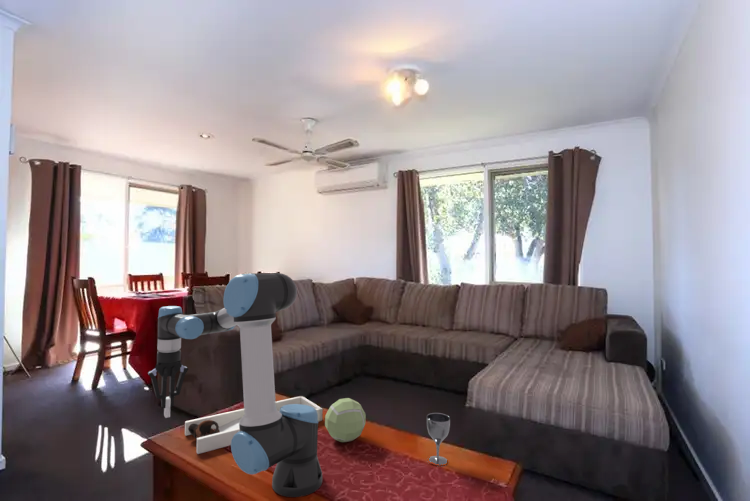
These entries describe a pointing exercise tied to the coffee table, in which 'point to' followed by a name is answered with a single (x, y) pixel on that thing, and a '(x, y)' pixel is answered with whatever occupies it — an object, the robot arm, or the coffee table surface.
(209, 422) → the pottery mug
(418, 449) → the coffee table surface
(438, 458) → the wine glass
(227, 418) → the trap lane
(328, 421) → the tennis ball
